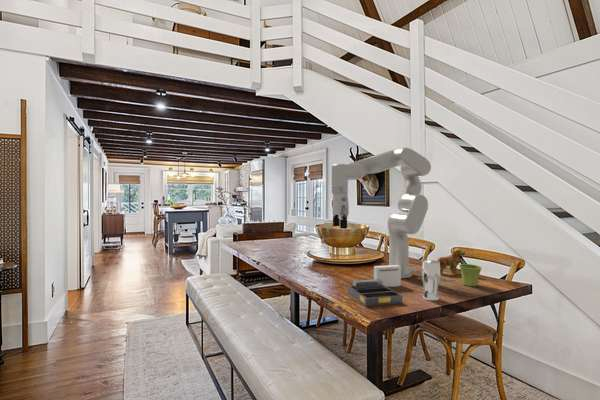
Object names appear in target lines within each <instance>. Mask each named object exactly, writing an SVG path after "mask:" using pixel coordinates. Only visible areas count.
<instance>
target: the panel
mask: <svg viewBox="0 0 600 400" xmlns="http://www.w3.org/2000/svg"><path fill="white" fill-rule="evenodd" d="M373 279H380V280H382V281H383V282H382V285H384V286H386V287H388V288H390V287H400V286H401V285H402V284H401V283H402V282H401V281H402V278H401V266H399V265H389V264H388V265H374V266H373Z"/></svg>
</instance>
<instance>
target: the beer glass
mask: <svg viewBox="0 0 600 400" xmlns="http://www.w3.org/2000/svg"><path fill="white" fill-rule="evenodd" d="M421 279H422V284H423V285H422V286H423V292H422V297H421V298H422V299H424V300H426V301H430V302H431V301H432V302H436V301H439V299H440V298H439V284H440V279H441V275H440V262H439V261H437V259H424V260H422V261H421Z"/></svg>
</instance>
